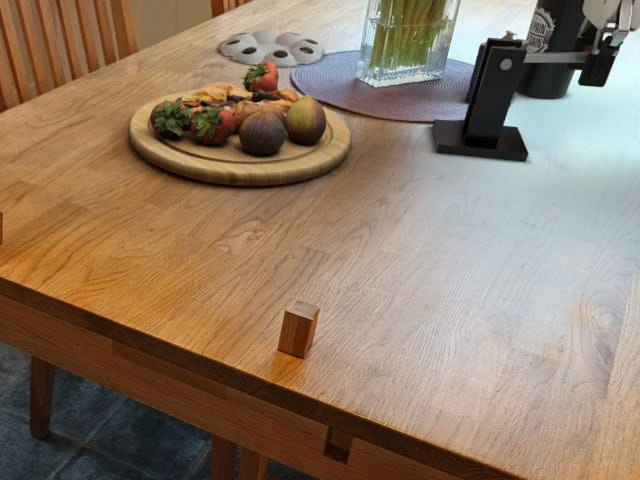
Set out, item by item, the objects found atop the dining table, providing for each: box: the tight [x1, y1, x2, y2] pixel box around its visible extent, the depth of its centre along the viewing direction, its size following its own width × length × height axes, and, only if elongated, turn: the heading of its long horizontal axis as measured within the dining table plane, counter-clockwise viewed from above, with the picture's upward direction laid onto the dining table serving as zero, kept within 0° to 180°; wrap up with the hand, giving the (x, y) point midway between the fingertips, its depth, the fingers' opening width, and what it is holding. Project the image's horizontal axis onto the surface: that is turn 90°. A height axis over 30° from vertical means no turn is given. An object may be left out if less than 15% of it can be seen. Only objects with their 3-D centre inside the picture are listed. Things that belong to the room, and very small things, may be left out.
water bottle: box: [514, 0, 585, 100], centre depth 116 cm, size 10×10×23 cm
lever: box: [499, 45, 593, 63], centre depth 96 cm, size 13×6×2 cm, turn 77°
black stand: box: [432, 37, 529, 162], centre depth 100 cm, size 12×10×14 cm
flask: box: [464, 29, 529, 104], centre depth 116 cm, size 9×3×11 cm, turn 112°
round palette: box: [219, 30, 323, 68], centre depth 138 cm, size 20×20×2 cm
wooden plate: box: [127, 62, 353, 187], centre depth 102 cm, size 32×32×8 cm
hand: (584, 76), depth 96 cm, fingers closed on lever, 6 cm apart
